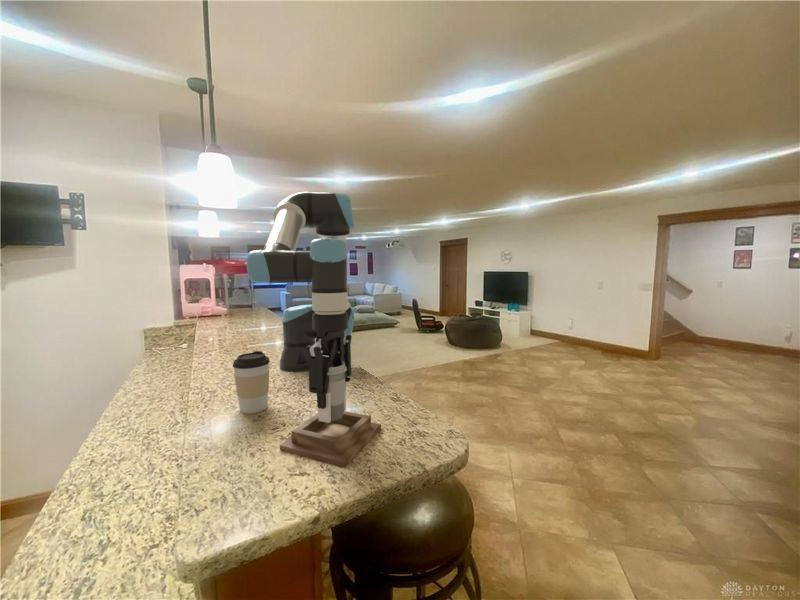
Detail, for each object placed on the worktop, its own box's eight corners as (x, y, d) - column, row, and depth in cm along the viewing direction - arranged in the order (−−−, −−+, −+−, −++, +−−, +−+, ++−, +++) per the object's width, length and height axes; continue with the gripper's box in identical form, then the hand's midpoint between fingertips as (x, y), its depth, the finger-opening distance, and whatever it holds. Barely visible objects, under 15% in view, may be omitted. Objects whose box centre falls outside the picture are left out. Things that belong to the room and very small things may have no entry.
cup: (316, 411, 74) (314, 360, 72) (345, 407, 76) (344, 357, 74) (318, 425, 67) (316, 370, 66) (350, 421, 69) (349, 366, 68)
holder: (324, 416, 82) (324, 403, 82) (380, 428, 76) (380, 414, 76) (279, 449, 68) (279, 433, 67) (344, 467, 62) (344, 450, 61)
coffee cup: (258, 416, 82) (255, 360, 81) (227, 413, 84) (224, 358, 82) (278, 402, 91) (276, 350, 89) (250, 399, 93) (247, 349, 91)
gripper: (338, 306, 79) (340, 397, 81) (286, 317, 62) (290, 431, 64) (365, 307, 76) (367, 401, 78) (318, 319, 59) (322, 438, 61)
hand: (332, 414), depth 71 cm, fingers closed on cup, 5 cm apart
